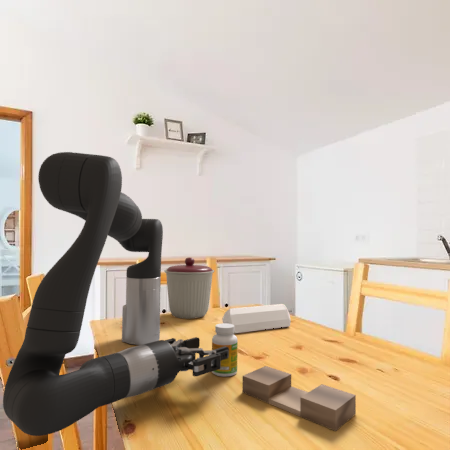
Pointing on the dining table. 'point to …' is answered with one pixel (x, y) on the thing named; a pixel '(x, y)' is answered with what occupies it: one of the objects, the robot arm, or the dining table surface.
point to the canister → (189, 289)
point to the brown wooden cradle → (300, 397)
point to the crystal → (257, 318)
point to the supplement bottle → (228, 340)
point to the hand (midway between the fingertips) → (212, 346)
